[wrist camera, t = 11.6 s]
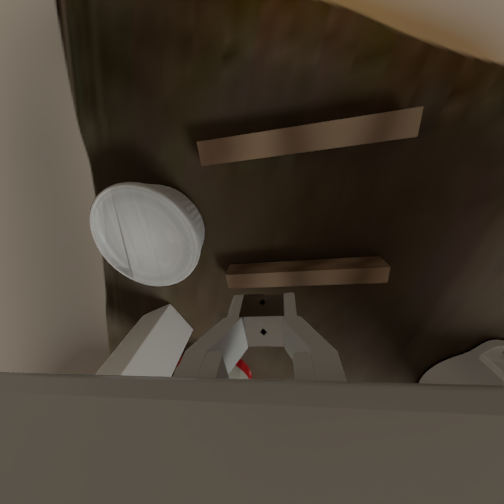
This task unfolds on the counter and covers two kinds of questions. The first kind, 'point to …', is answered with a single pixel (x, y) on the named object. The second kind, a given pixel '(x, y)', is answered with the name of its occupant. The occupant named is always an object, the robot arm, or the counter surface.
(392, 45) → the counter surface
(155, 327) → the milk
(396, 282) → the counter surface
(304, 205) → the counter surface
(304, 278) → the parallel wooden rails
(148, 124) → the counter surface
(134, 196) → the ramekin
